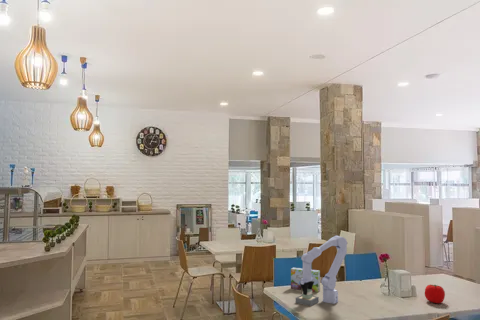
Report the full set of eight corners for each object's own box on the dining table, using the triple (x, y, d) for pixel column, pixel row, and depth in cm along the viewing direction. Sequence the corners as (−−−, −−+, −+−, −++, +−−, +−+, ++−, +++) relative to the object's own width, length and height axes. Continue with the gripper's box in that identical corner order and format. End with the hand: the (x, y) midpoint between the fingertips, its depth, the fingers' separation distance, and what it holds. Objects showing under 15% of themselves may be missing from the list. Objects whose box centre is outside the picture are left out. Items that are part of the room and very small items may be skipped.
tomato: (434, 305, 259) (433, 287, 260) (419, 300, 272) (419, 282, 273) (449, 304, 262) (449, 286, 263) (434, 298, 275) (434, 281, 276)
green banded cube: (312, 297, 262) (312, 289, 262) (309, 299, 258) (309, 291, 259) (305, 296, 265) (305, 288, 265) (302, 297, 261) (302, 290, 261)
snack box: (290, 288, 299) (290, 268, 300) (293, 287, 304) (293, 267, 305) (318, 292, 289) (318, 271, 290) (320, 290, 294) (320, 270, 295)
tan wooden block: (315, 302, 262) (315, 297, 263) (310, 305, 256) (310, 300, 256) (304, 299, 267) (304, 295, 268) (298, 302, 261) (298, 297, 261)
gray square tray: (318, 303, 263) (318, 296, 263) (311, 307, 254) (311, 300, 254) (303, 300, 269) (303, 294, 269) (295, 304, 260) (295, 297, 261)
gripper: (306, 269, 271) (306, 290, 270) (296, 273, 259) (296, 294, 258) (316, 271, 267) (316, 292, 266) (306, 274, 255) (306, 296, 254)
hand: (307, 293), depth 262 cm, fingers open, 6 cm apart
